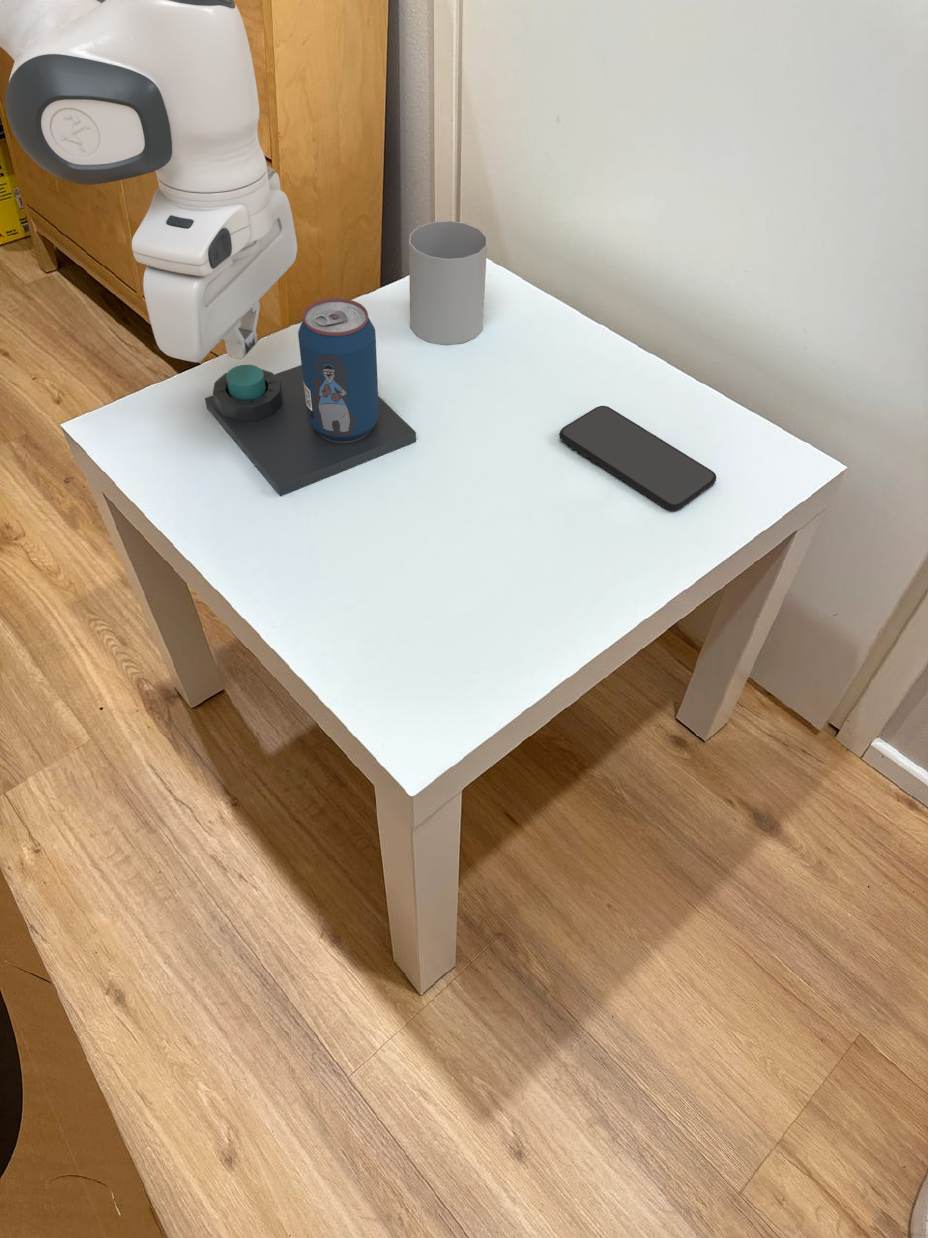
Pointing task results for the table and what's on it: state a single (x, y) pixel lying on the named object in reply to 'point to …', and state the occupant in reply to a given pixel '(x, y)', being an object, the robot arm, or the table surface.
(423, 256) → the cup
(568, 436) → the smartphone
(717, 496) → the table surface
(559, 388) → the table surface
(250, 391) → the tare button
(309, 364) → the soda can
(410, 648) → the table surface
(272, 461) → the scale
